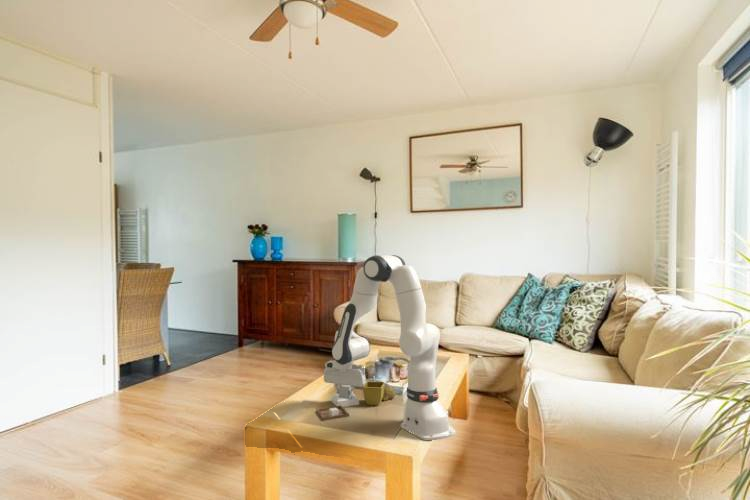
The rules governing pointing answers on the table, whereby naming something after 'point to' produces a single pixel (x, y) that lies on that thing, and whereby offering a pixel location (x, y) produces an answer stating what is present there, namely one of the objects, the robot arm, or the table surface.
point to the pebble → (344, 391)
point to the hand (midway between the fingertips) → (344, 394)
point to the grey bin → (345, 401)
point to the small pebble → (333, 412)
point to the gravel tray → (325, 416)
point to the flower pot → (373, 392)
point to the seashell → (388, 393)
